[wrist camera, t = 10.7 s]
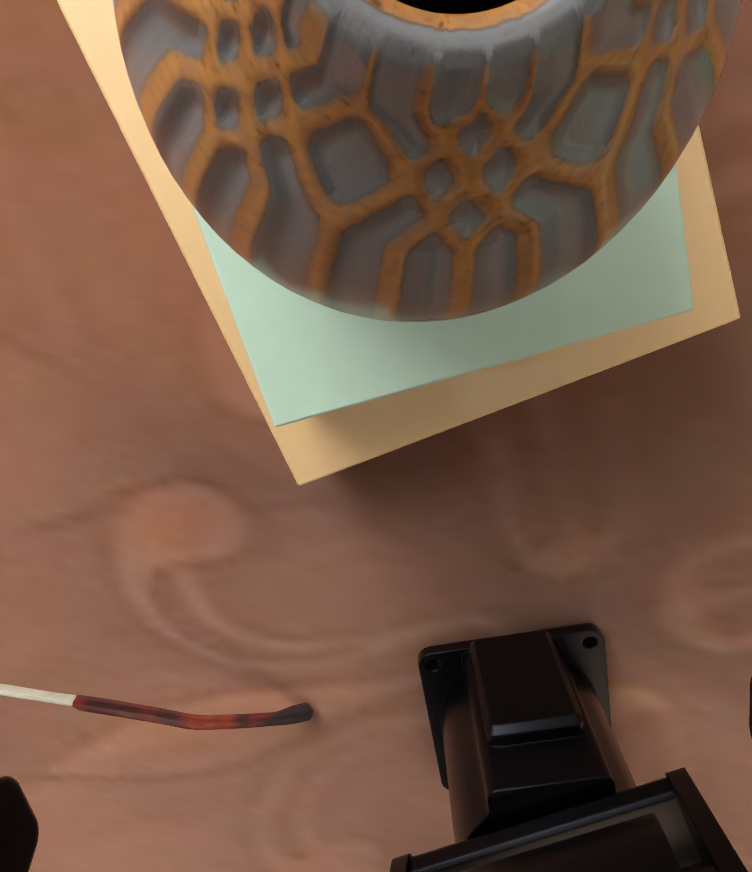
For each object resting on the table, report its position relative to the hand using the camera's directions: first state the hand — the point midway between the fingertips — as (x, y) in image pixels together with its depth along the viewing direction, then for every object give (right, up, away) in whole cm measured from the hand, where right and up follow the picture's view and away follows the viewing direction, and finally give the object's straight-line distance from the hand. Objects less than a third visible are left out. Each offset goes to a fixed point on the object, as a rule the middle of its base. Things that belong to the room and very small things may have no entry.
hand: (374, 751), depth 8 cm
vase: (+1, +10, +4) cm, 11 cm away
